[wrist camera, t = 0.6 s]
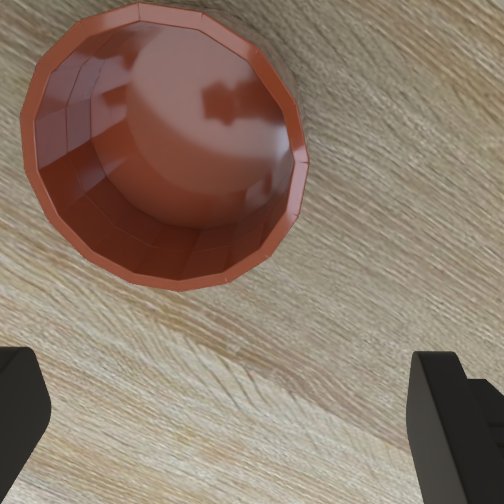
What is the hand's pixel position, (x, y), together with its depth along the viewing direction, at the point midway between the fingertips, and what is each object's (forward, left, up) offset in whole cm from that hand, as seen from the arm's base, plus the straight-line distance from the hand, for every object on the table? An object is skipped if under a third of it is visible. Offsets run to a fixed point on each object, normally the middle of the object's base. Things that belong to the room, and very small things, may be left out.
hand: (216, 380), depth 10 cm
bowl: (-1, -4, -16) cm, 16 cm away
